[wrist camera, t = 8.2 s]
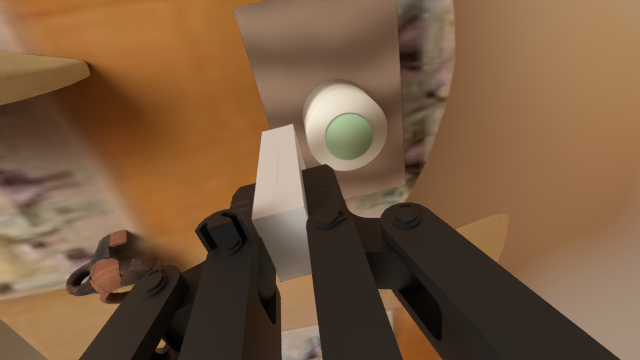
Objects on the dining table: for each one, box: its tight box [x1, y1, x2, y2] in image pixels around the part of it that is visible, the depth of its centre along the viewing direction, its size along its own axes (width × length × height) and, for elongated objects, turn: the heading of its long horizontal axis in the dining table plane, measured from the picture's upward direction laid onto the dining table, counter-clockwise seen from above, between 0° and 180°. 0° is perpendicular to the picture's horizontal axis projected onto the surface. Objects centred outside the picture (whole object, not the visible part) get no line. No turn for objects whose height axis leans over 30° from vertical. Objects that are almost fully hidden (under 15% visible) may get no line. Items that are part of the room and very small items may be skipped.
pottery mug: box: [66, 230, 161, 304], centre depth 42 cm, size 12×10×8 cm
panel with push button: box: [233, 0, 406, 199], centre depth 27 cm, size 22×14×8 cm, turn 12°
